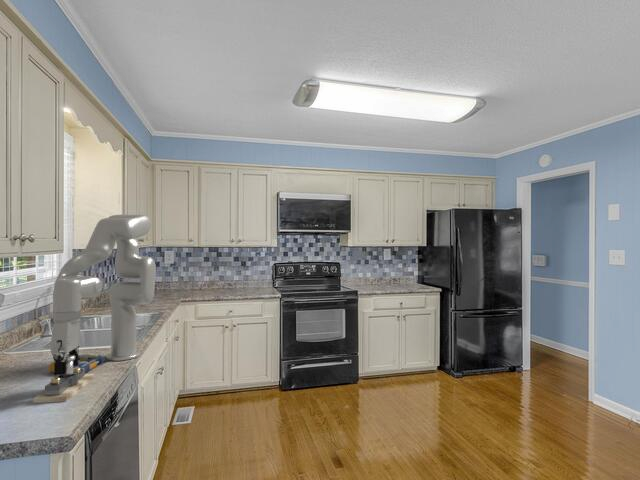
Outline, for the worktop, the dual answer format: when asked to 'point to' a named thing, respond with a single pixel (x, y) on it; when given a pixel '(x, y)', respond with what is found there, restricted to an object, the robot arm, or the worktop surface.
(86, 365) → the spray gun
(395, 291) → the worktop surface
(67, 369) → the light bulb
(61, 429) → the worktop surface
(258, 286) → the worktop surface
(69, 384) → the ring socket base plate
